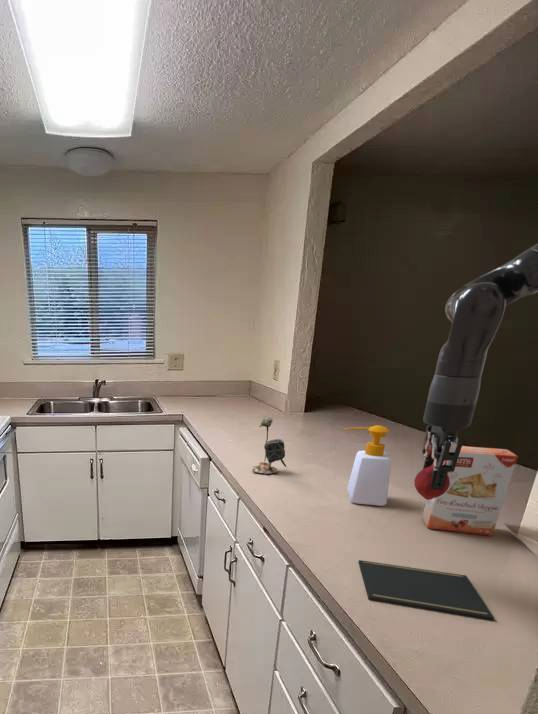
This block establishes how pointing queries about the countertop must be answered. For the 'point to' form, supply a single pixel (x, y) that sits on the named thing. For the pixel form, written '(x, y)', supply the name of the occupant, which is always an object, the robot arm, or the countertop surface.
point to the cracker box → (473, 492)
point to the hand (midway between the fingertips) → (431, 483)
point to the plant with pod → (270, 451)
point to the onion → (428, 484)
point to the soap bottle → (370, 471)
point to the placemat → (423, 589)
